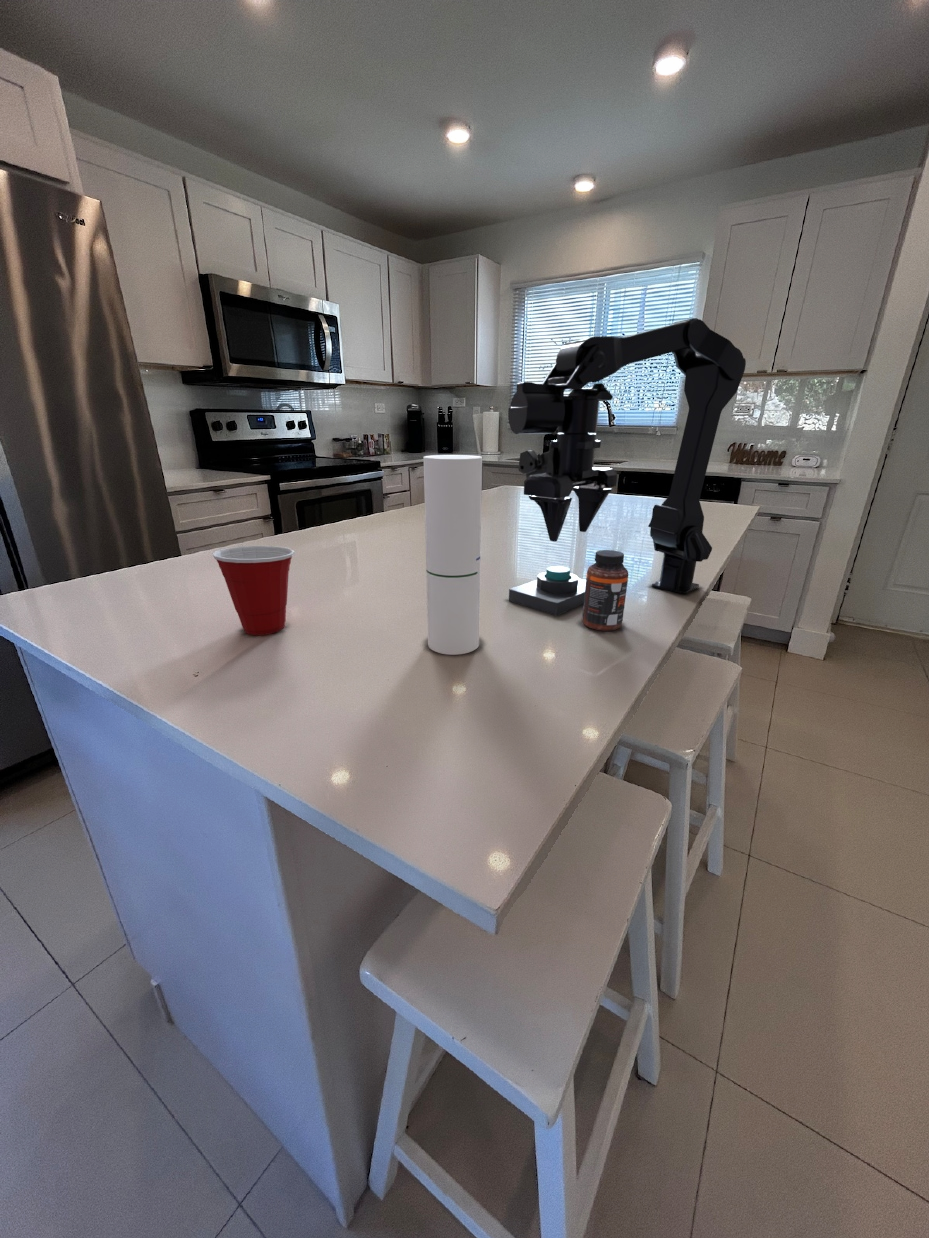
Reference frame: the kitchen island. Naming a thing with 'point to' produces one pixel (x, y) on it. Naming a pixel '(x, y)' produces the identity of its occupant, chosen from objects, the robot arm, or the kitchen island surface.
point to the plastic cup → (257, 585)
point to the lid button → (558, 573)
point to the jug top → (550, 594)
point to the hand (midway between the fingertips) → (568, 536)
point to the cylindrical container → (453, 551)
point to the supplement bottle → (605, 591)
